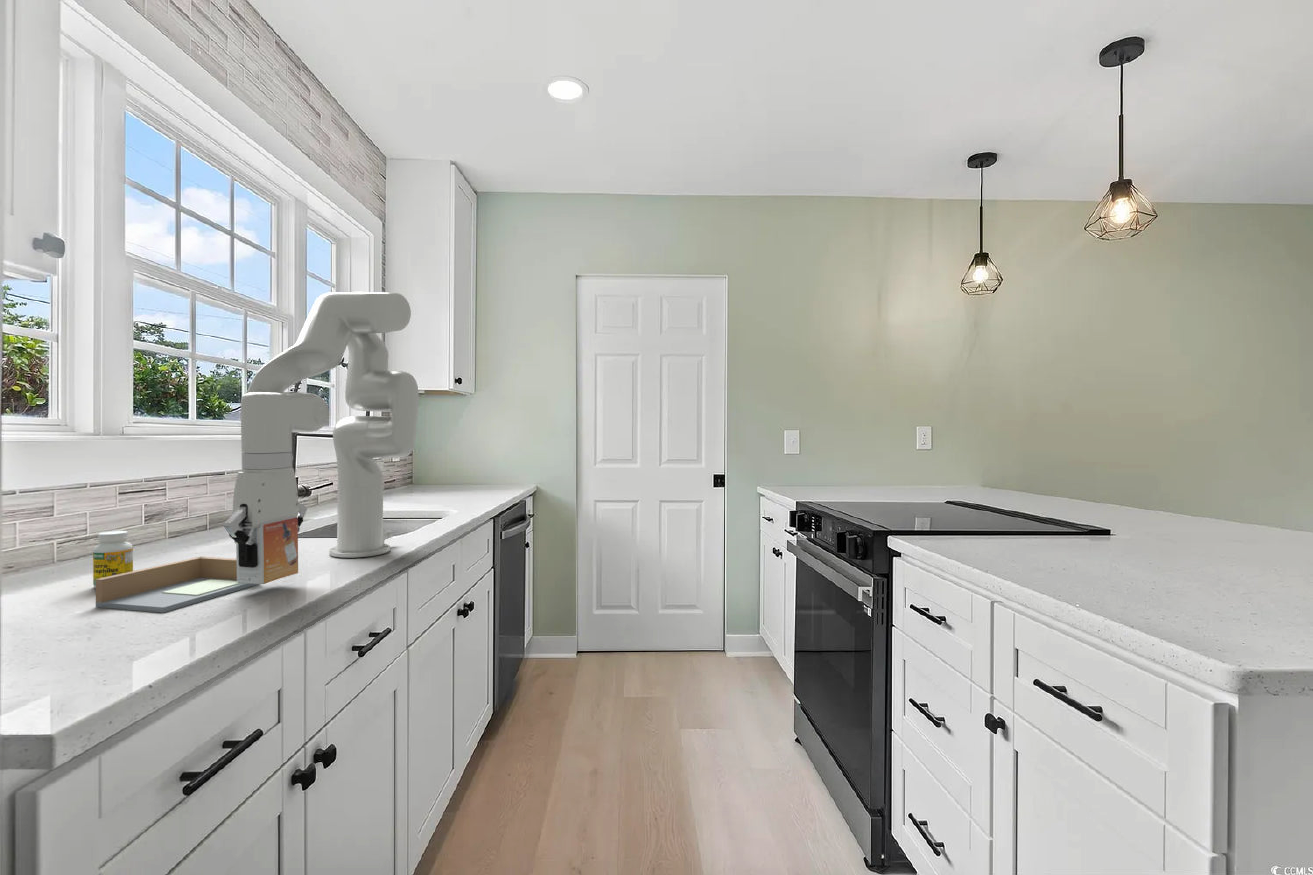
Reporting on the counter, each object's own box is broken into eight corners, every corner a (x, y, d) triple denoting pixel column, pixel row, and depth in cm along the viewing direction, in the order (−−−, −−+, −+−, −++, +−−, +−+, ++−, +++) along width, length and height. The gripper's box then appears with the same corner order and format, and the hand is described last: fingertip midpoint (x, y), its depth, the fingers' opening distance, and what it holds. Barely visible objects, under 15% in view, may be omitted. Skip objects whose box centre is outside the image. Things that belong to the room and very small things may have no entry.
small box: (263, 585, 103) (262, 524, 103) (235, 583, 104) (234, 522, 104) (299, 572, 111) (298, 516, 110) (273, 570, 112) (272, 514, 112)
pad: (210, 580, 110) (210, 579, 110) (243, 582, 109) (243, 581, 109) (162, 593, 102) (162, 591, 102) (197, 595, 100) (197, 594, 100)
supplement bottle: (139, 581, 112) (139, 529, 112) (121, 588, 107) (121, 534, 107) (105, 582, 111) (105, 530, 111) (85, 590, 106) (85, 535, 106)
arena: (200, 579, 114) (200, 556, 114) (259, 583, 111) (260, 560, 111) (95, 606, 96) (95, 579, 96) (163, 612, 94) (163, 584, 94)
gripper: (287, 458, 116) (289, 548, 117) (204, 466, 99) (206, 571, 100) (322, 459, 114) (323, 550, 115) (243, 467, 97) (245, 574, 98)
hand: (269, 560), depth 107 cm, fingers closed on small box, 8 cm apart
